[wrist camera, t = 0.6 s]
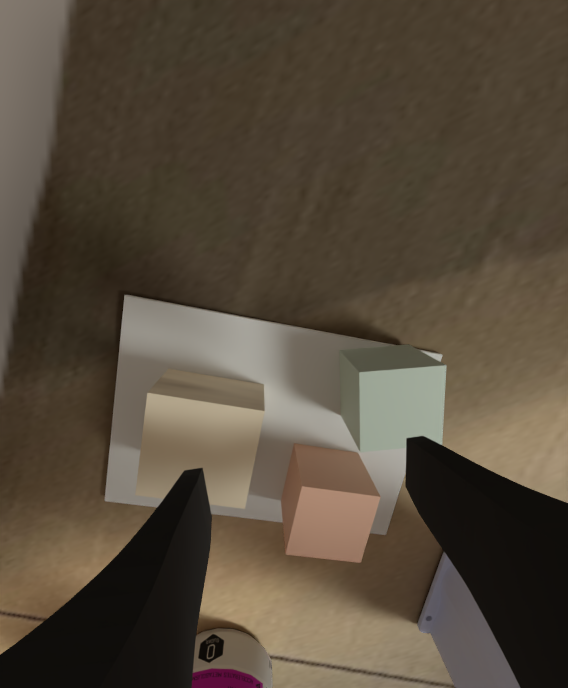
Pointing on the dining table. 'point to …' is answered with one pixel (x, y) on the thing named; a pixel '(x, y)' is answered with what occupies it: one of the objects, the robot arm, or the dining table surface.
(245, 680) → the supplement can
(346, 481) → the terracotta block
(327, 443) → the mat
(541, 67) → the dining table surface
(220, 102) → the dining table surface
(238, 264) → the dining table surface
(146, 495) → the birch base block
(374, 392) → the sage block
